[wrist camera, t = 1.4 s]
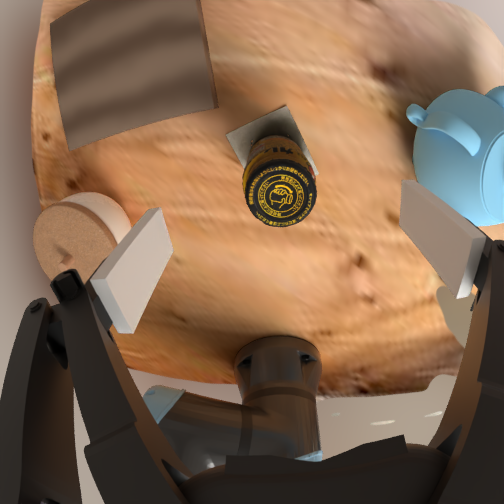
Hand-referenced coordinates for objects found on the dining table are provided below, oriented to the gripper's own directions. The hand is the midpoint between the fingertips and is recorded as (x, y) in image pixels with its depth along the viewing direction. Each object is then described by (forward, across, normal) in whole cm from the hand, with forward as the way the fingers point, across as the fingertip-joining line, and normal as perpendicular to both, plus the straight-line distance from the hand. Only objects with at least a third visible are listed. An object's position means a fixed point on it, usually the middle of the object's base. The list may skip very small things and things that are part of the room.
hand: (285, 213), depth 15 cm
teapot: (+18, -23, 0) cm, 29 cm away
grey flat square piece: (+18, +14, -15) cm, 27 cm away
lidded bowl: (+18, +23, +5) cm, 30 cm away
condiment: (+18, 0, 0) cm, 18 cm away
